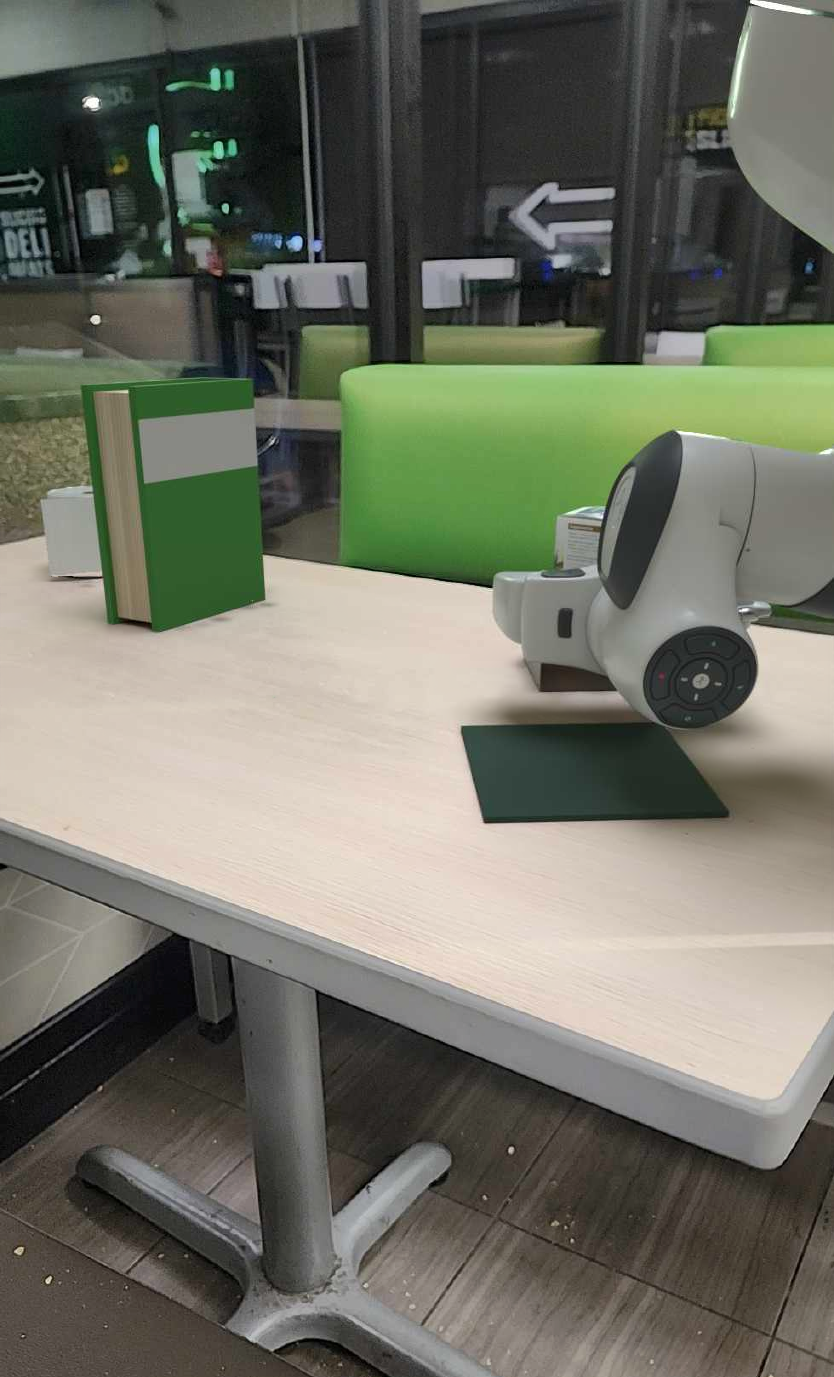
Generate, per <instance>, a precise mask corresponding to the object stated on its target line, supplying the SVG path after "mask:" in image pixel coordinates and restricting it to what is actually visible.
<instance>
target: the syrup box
mask: <svg viewBox="0 0 834 1377" xmlns="http://www.w3.org/2000/svg"><path fill="white" fill-rule="evenodd" d="M605 508H606V506H583V507H580V508H576V509H574V510H571V511H568V512H566V513H561V514H559V515H557V516H556V524H555V526H556V527H555V541H554V554H553V555H554V557H553V558H554V559H553V570H568V569H575V568H578V569H579V568H584V567H588V566H592V565H596V564H597V556H598V544H599V536H600V530H601V524H602V520H603V515H604V511H605Z"/></svg>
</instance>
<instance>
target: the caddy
mask: <svg viewBox="0 0 834 1377" xmlns="http://www.w3.org/2000/svg"><path fill="white" fill-rule="evenodd" d="M523 660H524V662H525V664H526V666H527V669H528V670H529V672H530V675H531V676H532V679H533V680H534V682H535V685H536V687H537V689H538V690H539V692H580V691H583V692H586V691H587V692H588V691H617V689H616V688H615V686H614V685H613V684H612V682H611V681H610V679H609V677H608V676H605V675H601V674H598V673H594V672H591V671H588V670H584V669H580V668H576V667H567V666H560V665H551V664H543V663H535V662H530V661H527V660H526V659H524V658H523Z"/></svg>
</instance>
